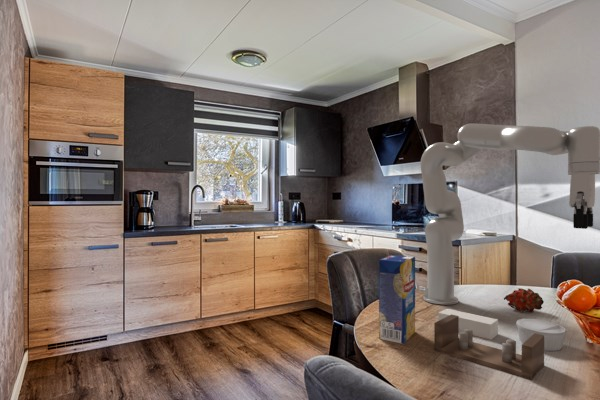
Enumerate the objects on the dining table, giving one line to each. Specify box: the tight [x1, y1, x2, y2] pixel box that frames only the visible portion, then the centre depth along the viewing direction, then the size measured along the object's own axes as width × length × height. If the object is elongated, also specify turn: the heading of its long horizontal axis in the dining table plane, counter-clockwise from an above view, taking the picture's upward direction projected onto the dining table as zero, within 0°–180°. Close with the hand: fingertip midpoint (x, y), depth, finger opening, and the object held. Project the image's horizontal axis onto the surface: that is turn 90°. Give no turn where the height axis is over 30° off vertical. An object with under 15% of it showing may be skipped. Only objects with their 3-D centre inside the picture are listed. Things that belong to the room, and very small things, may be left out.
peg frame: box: [433, 315, 545, 381], centre depth 92 cm, size 22×10×7 cm, turn 44°
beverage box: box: [378, 254, 416, 345], centre depth 106 cm, size 7×11×22 cm, turn 147°
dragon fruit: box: [503, 288, 545, 313], centre depth 130 cm, size 8×8×12 cm
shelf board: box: [438, 308, 499, 341], centre depth 111 cm, size 15×6×4 cm, turn 45°
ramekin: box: [515, 318, 567, 352], centre depth 100 cm, size 11×11×5 cm
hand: (583, 227), depth 110 cm, fingers open, 9 cm apart
